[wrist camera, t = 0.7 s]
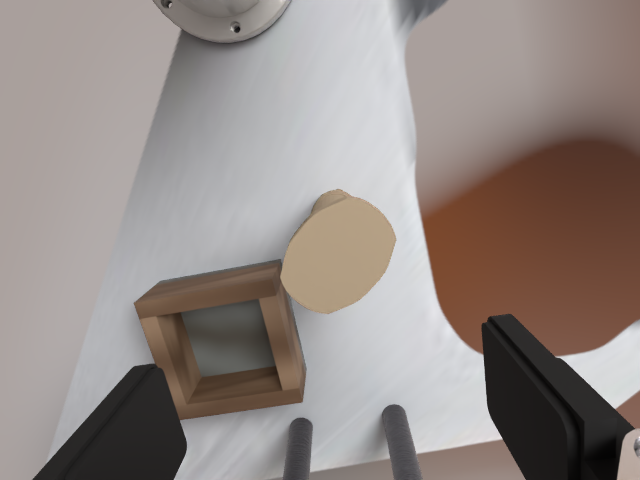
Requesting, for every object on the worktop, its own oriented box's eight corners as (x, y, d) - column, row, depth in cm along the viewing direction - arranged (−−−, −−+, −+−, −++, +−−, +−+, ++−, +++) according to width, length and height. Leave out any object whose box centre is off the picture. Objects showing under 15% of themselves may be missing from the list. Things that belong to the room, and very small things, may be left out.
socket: (160, 281, 36) (133, 303, 31) (280, 259, 35) (272, 278, 30) (195, 385, 39) (175, 420, 34) (306, 368, 38) (302, 402, 33)
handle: (292, 216, 34) (262, 275, 19) (337, 160, 32) (341, 179, 18) (333, 249, 34) (333, 329, 20) (379, 196, 33) (415, 241, 19)
